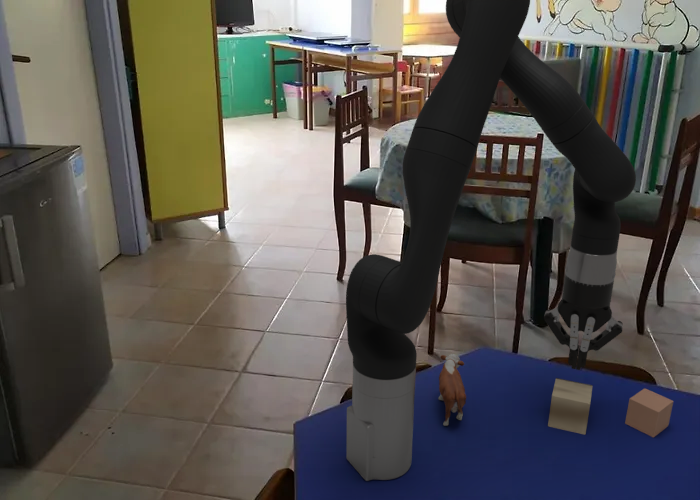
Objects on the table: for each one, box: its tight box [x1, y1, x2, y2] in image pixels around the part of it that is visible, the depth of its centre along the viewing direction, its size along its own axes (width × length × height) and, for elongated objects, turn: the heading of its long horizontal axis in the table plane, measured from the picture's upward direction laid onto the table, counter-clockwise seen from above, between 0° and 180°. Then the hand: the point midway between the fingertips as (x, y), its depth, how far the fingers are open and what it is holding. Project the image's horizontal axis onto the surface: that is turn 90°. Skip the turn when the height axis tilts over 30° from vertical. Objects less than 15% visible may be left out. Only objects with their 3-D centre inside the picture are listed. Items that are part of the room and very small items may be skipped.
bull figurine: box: [438, 353, 467, 427], centre depth 116 cm, size 4×13×8 cm, turn 174°
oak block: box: [547, 377, 594, 435], centre depth 113 cm, size 6×6×6 cm
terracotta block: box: [624, 387, 674, 438], centre depth 113 cm, size 5×5×5 cm
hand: (576, 367), depth 115 cm, fingers closed
